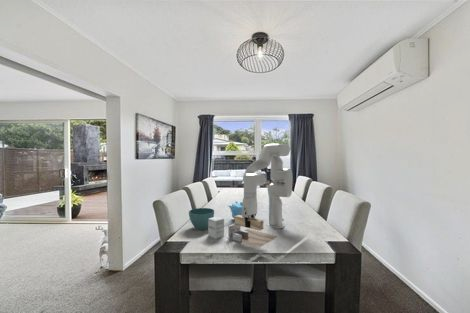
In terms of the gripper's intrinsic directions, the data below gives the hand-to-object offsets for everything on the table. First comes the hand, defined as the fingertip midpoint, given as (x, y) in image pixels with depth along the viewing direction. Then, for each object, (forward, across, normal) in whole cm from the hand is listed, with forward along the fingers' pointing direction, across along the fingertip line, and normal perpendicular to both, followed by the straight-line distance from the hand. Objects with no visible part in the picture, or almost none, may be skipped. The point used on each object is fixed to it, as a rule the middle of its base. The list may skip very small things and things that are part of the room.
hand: (249, 226), depth 132 cm
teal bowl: (+11, -3, -44) cm, 45 cm away
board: (+10, -7, -3) cm, 13 cm away
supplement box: (+11, +5, -22) cm, 25 cm away
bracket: (+9, -1, -8) cm, 12 cm away
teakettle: (+10, -36, -33) cm, 50 cm away
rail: (+1, 0, -1) cm, 1 cm away
